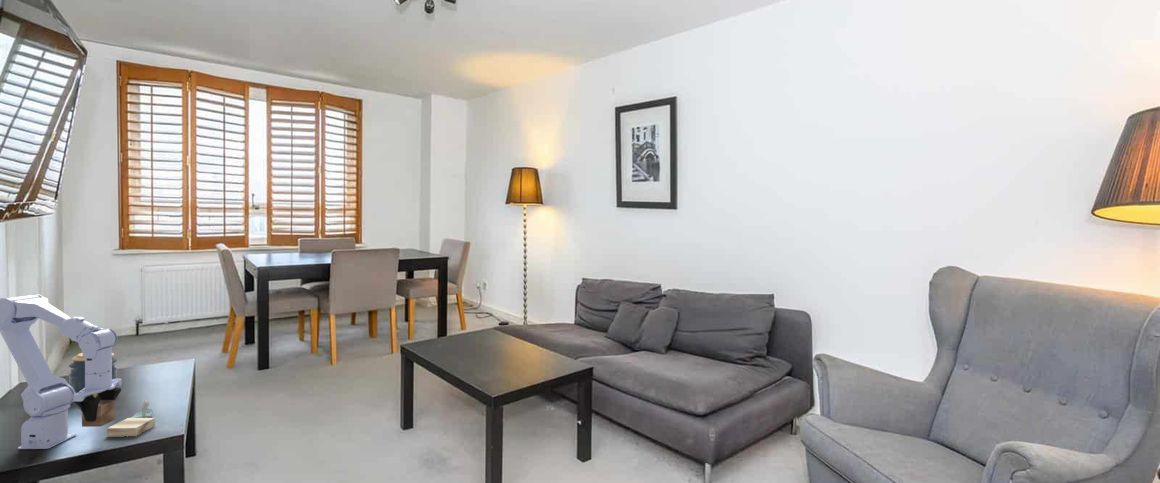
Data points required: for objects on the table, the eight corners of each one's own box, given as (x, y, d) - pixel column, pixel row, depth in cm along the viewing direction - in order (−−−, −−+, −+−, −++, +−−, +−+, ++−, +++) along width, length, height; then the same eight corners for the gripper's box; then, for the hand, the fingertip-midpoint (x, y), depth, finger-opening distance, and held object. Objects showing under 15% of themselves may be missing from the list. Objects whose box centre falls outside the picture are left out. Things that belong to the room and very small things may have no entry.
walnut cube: (100, 426, 147) (100, 406, 147) (81, 426, 147) (81, 406, 146) (114, 419, 152) (114, 399, 152) (96, 419, 152) (96, 400, 151)
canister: (90, 401, 181) (90, 352, 181) (58, 398, 183) (58, 350, 182) (126, 389, 194) (126, 343, 194) (96, 387, 196) (96, 341, 195)
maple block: (135, 437, 155) (135, 428, 155) (107, 437, 154) (107, 428, 154) (154, 427, 163) (154, 417, 163) (127, 427, 162) (127, 418, 162)
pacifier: (125, 426, 163) (150, 422, 166) (124, 406, 163) (149, 403, 166) (130, 418, 169) (154, 414, 172) (129, 399, 169) (153, 396, 172)
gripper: (92, 379, 142) (92, 427, 142) (132, 364, 156) (132, 408, 157) (64, 379, 141) (64, 427, 142) (107, 364, 156) (107, 408, 156)
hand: (98, 417), depth 149 cm, fingers closed on walnut cube, 5 cm apart
